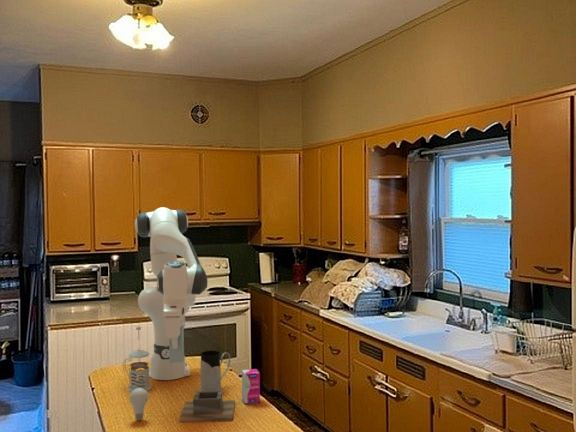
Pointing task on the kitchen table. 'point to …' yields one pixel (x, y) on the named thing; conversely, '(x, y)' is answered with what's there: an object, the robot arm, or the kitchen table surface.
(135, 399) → the lightbulb
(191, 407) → the socket
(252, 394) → the supplement box
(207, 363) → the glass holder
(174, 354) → the peg
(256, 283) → the kitchen table surface
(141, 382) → the french press
